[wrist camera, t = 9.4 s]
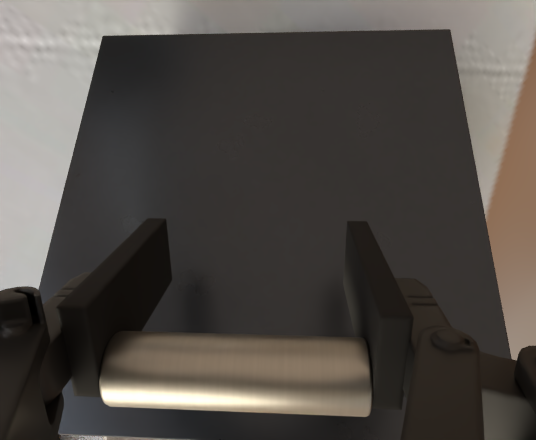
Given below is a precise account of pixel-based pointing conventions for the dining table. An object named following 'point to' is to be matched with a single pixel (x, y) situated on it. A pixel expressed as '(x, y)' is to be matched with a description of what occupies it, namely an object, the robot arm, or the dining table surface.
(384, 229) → the grey box lid
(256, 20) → the dining table surface
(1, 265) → the dining table surface
